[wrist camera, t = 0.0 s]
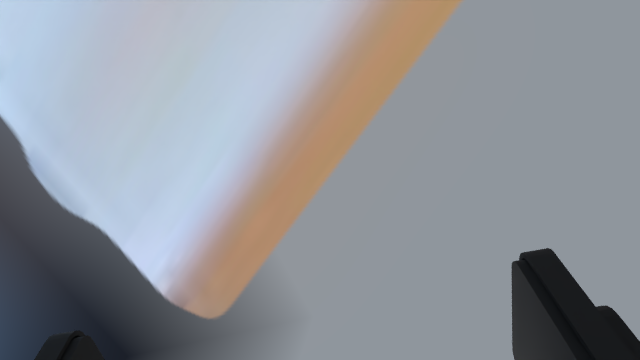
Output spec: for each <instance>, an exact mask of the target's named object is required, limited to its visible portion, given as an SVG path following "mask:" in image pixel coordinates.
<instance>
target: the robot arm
mask: <svg viewBox="0 0 640 360" xmlns="http://www.w3.org/2000/svg"><path fill="white" fill-rule="evenodd" d="M512 341H513V342H512V345H513V355H514V359H515V360H640V341H639V340H638V339H637V338H636V337H635V335H634V334H633V333H632V331H631V330H630V329H629V328H628V326H627V325H626V324H625V323H624V321H623V320H622V319H621V318H620V316H619V315H618V314H617V313H616V312H615V311H614V310H613V309H612V308H610V307H608V306H598V307H595V306H594V304H593V303H592V302H591V300H590V299H589V298H588V296H587V295H586V294H585V292H584V291H583V290H582V288H581V287H580V286H579V284H578V283H577V282H576V281H575V279H574V278H573V277H572V275H571V274H570V273H569V271H568V270H567V269H566V267H565V266H564V265H563V263H562V262H561V261H560V260H559V258H558V257H557V256H556V254H555V253H554V252H553V251H552V250H551V249H549V248H547V249H541V250H536V251H530V252H524V253H521V254H520V258H519V261H514V262H513V263H512ZM34 360H104V358H103V356H102V354H101V353H100V351H99V350H98V348H97V346H96V345H95V343H94V341H93V340H92V338H91V337H90V336H85V335H84V333H83V332H81V331H72V332H66V333H60V334H54V335H52V336H50V337H49V338H48V339H47V340H46V342H45V343H44V345H43V347H42V348H41V350H40V351H39V353H38V355H37V356H36V358H35V359H34Z"/></svg>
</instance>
